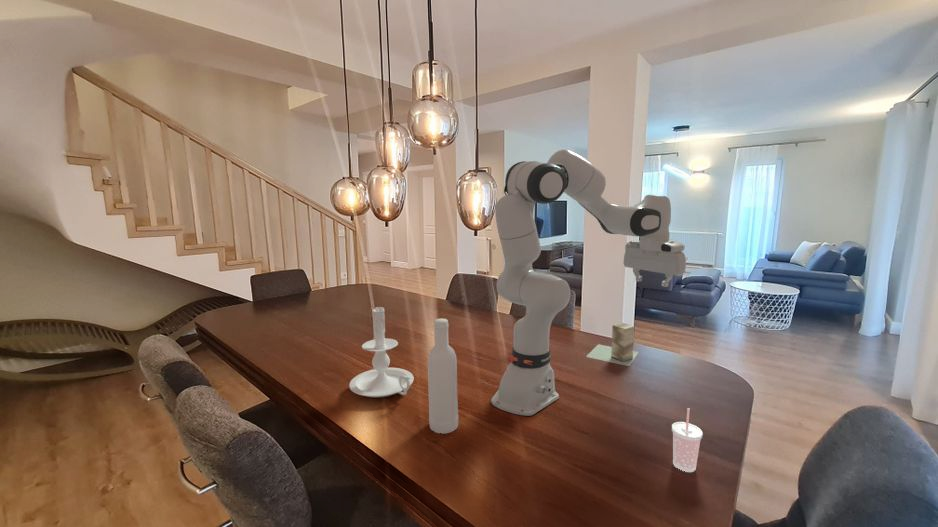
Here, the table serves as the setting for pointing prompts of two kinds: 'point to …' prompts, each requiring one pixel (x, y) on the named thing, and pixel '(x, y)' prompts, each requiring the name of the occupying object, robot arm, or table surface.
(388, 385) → the candlestick
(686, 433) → the beverage cup
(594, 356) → the mat
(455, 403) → the bottle
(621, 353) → the block
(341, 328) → the table surface
